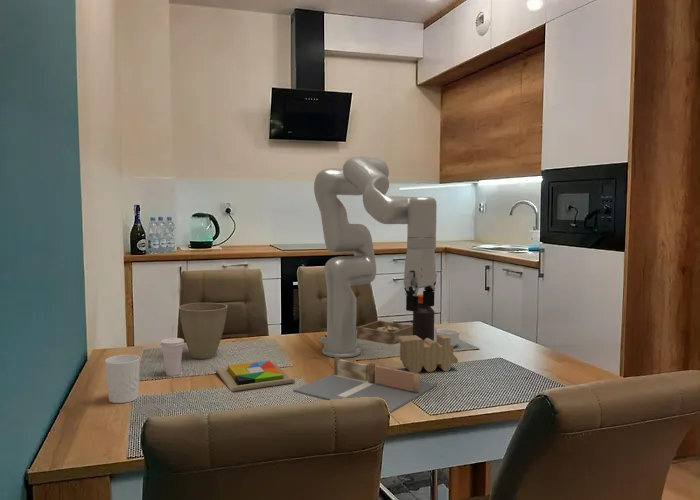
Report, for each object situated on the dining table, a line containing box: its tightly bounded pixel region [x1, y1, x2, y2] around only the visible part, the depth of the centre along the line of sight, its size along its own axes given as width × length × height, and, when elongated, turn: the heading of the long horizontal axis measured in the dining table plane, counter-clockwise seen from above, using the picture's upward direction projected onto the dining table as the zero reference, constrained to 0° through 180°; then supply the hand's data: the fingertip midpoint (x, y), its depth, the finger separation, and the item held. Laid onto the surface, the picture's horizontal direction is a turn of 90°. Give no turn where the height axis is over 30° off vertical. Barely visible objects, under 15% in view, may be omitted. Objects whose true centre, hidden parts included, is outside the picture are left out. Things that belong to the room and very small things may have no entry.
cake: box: [375, 324, 399, 332], centre depth 204 cm, size 10×10×5 cm
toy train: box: [397, 334, 459, 374], centre depth 163 cm, size 6×17×10 cm, turn 104°
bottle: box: [412, 293, 435, 342], centre depth 176 cm, size 7×7×20 cm
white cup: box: [104, 354, 141, 404], centre depth 136 cm, size 8×8×10 cm
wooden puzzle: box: [215, 359, 295, 393], centre depth 154 cm, size 18×19×4 cm
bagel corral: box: [356, 319, 413, 345], centre depth 204 cm, size 16×16×4 cm
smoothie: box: [160, 324, 185, 377], centre depth 156 cm, size 6×6×14 cm
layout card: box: [293, 373, 438, 414], centre depth 146 cm, size 28×26×1 cm
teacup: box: [435, 328, 460, 348], centre depth 193 cm, size 10×8×5 cm
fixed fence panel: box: [333, 357, 376, 384], centre depth 153 cm, size 13×2×5 cm, turn 55°
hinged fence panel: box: [375, 365, 420, 392], centre depth 145 cm, size 13×2×4 cm, turn 55°
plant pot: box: [178, 302, 228, 360], centre depth 176 cm, size 15×15×16 cm
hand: (420, 308), depth 148 cm, fingers open, 9 cm apart
